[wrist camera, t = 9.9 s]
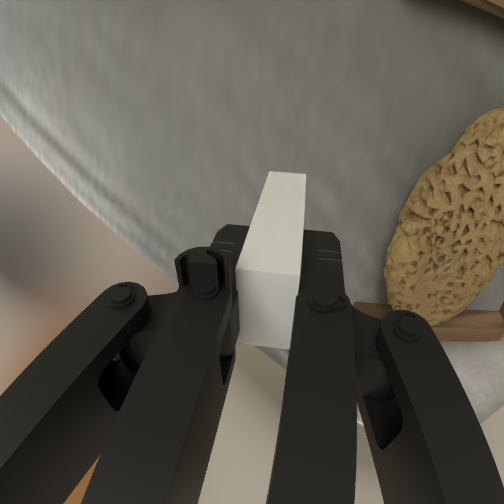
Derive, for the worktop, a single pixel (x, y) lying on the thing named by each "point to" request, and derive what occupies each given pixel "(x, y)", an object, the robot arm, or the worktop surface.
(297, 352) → the robot arm
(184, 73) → the worktop surface
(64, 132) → the worktop surface
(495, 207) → the sponge
